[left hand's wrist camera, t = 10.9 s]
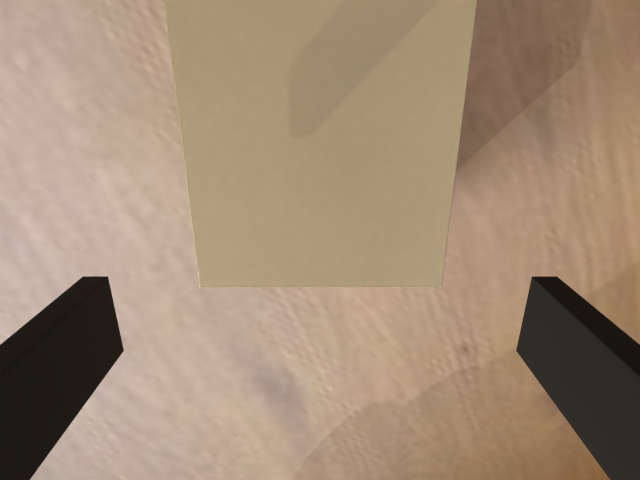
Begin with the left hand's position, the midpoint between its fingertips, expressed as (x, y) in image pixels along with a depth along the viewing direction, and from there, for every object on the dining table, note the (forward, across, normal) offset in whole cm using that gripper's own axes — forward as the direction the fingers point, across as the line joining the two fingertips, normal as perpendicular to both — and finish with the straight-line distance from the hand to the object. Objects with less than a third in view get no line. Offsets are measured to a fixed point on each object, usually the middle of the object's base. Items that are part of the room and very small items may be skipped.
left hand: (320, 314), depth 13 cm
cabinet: (+16, 0, -7) cm, 17 cm away
